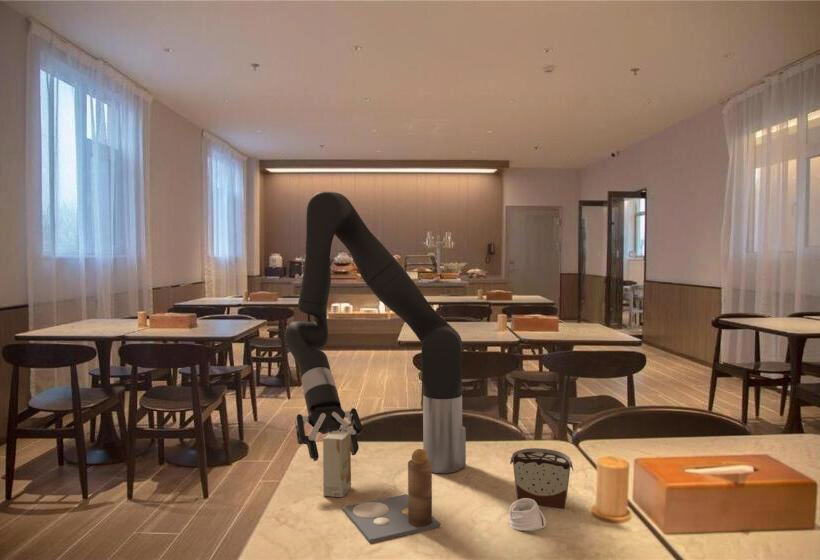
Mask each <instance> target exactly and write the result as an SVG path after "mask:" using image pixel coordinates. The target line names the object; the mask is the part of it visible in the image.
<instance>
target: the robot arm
mask: <svg viewBox="0 0 820 560" xmlns="http://www.w3.org/2000/svg"><path fill="white" fill-rule="evenodd" d="M305 221H306V222H305V223H306V226H305V227H306V231H305V232H306V236H305V238H306V239H305V256H304V266H303V274H302V280H301V284H300V291H299V296H298V302H297V308H298V310H299V311H300V312H302V313H304V314H306V315H309V316H312V317H313V321H301V320H299V321H296V320H295V321H292V322H290V323H289V324H288V325H287V326H286V328H285V331H284V341H285V343H286V347H287V349H288V350H289V352H290V354H291V355H292V357H293V358H294V360H295V362H296V364H297V365H298V368H299V373H300V378H301V383H302V384H301V385H302V386H301V387H302V394H303V397H304V401H305V405H306V410H307V414H308V415H305V416H303V414H302V413H298V414H297V416H296V418H295V421H294V424H295V431H296V439H297V444H299V445H306V446H307V450H308V454H309V458H310V459H312V460H313V462H316V461H318V460H319V457H320V455H319V452H318V445H317V443H316V440H315V439H316V438H317V437H318V435H319V433H320V434H322V435H326V434H329V433H331V432H332V431H345V432H351V456H356V455H357V452H358V450H359V449H360V448H359V447H360V446H359V443H358V439H357V437H358V438H359V437H360V436H361V435H362V432H363V430H364V427H363V425H362V423H361V419H360V417H359V414H358V411H357V408H355V407H352V408H351V410H348V411H345V410H344V409H342V405H341V400H340V397H339V391H338V388H337V385H336V381H335V378H334V376H333V374H332V371H331V365H330V362H329V360H328V356H327V354H326V353H325V352H324V351H323V349H325V347H326V345H327V344H328V342H329V338H330V337H329V327H328V317H327V316H328V313H327V308H328V307H327V306H328V302H329V295H330V291H331V286H332V285H331V283H332V272H331V271H332V270H331V250H332V244H333V240H334V237H337V238H338V240H339V241H340V242H341V243H342V244H343V246H344V247H345V248H346V249H347V251H348V252H349V254H350V255H351V258H352V259H353V262H354V264H355V267H356V270H358V273H359V275H360V277H361V278H362V280H363V282H364V283H365V284H366V285H367V286H368V288H369V289H370V290H371V292H372V293H373V294H374V295H375V296H376V297H377V299H378V300H379V301H380V302H382V304H384V306H386V308H388V309H389V310H390V311H392V313H394V314H395V315H397V316H398V317H399V318H400V319H401V320H402V321H404V323H406V325H408V326H409V328H410V329H411V331H412V332H413V333H414V335H415V336H416V337H417V339H418V340H419V342H420V343H421V351H420V354H421V385H422V419H423V420H422V422H423V423H422V427H423V428H422V430H423V431H422V436H423V437H422V442H423V445H422V446H423V448H422V449H423V450H424V451H426V453H427V455H428V460H430V461H431V462H432V473H436V474H450V473H452V474H453V473H456V472H459V471H460V470H461V469H464V468H466V467H467V450H466V444H467V443H466V439H467V437H466V436H467V433H466V430H467V429H466V427H465V426H464V425H463V380H462V379H463V378H462V375H463V373H462V371H463V370H462V368H463V367H462V364H463V363H462V358H463V357H462V355H463V354H462V349H463V341H462V338H461V335H460V333H459V332H458V331H457V330H456V329H455V328H453V326H452V325H450V324H449V322H447V321H446V320H445V319H444V318H443V317H442V316H441V315H440V314H439V313H438V312H437V311H436V310H435V309H434V308H433V306H432V305H431V304H430V303H429V302H428V300H427V299H426V297H425V296H424V294H423V292H422V291H421V290H420V288H419V287H418V286H417V284H416V283H415V282H414V280H413V278H411V276H410V275H409V274H408V272H407V271H406V270H405V268H404V267H403V266H402V265H401V264H400V263H399V261H397V259H396V258H395V257H394V256H393V255H392V254H391V252H390V251H389V250H388V248H386V247H385V245H384V244H383V243H382V242H381V241H380V240H379V239H378V238H377V237H376V236H375V235H374V234H373V233H372V232H371V230H370V229H369V228H368V226H367V225H366V223H365V222H364V221H363V219H362V218H361V216H360V215H359V213H358V211H357V210H356V209H355V207H354V206H353V204H352V203H351V201H350V200H349V199H348V198H347V196H345V195H343V194H341V193H339V192H335V191H319V192H317V193H315V194H314V195H313V196H312V197H311V198H310V199H309V201H308V204H307V207H306V220H305ZM345 418H346V419H347V420H348V421H349V422H350V423H351V425H350V424H349V423H348V422H347V421H346V420H345ZM307 423H308V424H309V425H310V426H311V427H312V430H311V431H310V434H309V435H306V431H305V427H306V425H307Z"/></svg>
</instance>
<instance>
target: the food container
mask: <svg viewBox="0 0 820 560" xmlns="http://www.w3.org/2000/svg"><path fill="white" fill-rule="evenodd" d="M509 464H510V465H512V466H513V476H514V484H515V495H516V501H517V500H519V499H522V498H530V499H533V500H534V501H535V502H536V503H537V505H538V506H539V508H544V509H550V510H551V509H552V510H559V511H566V510H567V500H568V491H569V490H568V489H569V483H570V482H569V481H570V473H571V469H572V472H574V468H573V467H574V466H573V462H572V460H571V457H570V456H569V455H567V454H566V453H563V452H561V451H558V450H555V449H550V448H540V447H539V448H537V447H534V448H532V447H531V448H524V449H519V450H516V451H514V452H513V453H512V456H511V457H510V461H509Z"/></svg>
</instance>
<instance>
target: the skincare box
mask: <svg viewBox="0 0 820 560" xmlns="http://www.w3.org/2000/svg"><path fill="white" fill-rule="evenodd" d="M322 450H323V451H322V454H323V456H322V457H323V459H322V460H323V462H322V465H323V466H322V467H323V479H322V480H323V483H322V484H323V491H322V492H323V496H324V497H334V498H336V497H337V498H343V497H344V496H345V495H346V494H347V493H348V491H349V490H350V489H351V487H352V472H351V471H352V464H351V463H352V454H351V432H345V431H332V432H331V433H330V432H328V433H327V435H325V436H324V437H323V439H322Z"/></svg>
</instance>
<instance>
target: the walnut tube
mask: <svg viewBox="0 0 820 560" xmlns="http://www.w3.org/2000/svg"><path fill="white" fill-rule="evenodd" d="M432 473H433V472H432V462H431V461H430V460H428V455H427V453H426V451H424V450H423V448H417V449H415V450H414V451H413V452H412V455H411V460H408V462H407V480H408V481H407V492H408V493H407V495H408V522H409V524H411V525H413V526H416V527H424V526H428V525H430V524H431V523H432V516H433V480H432V479H433V475H432Z"/></svg>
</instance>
